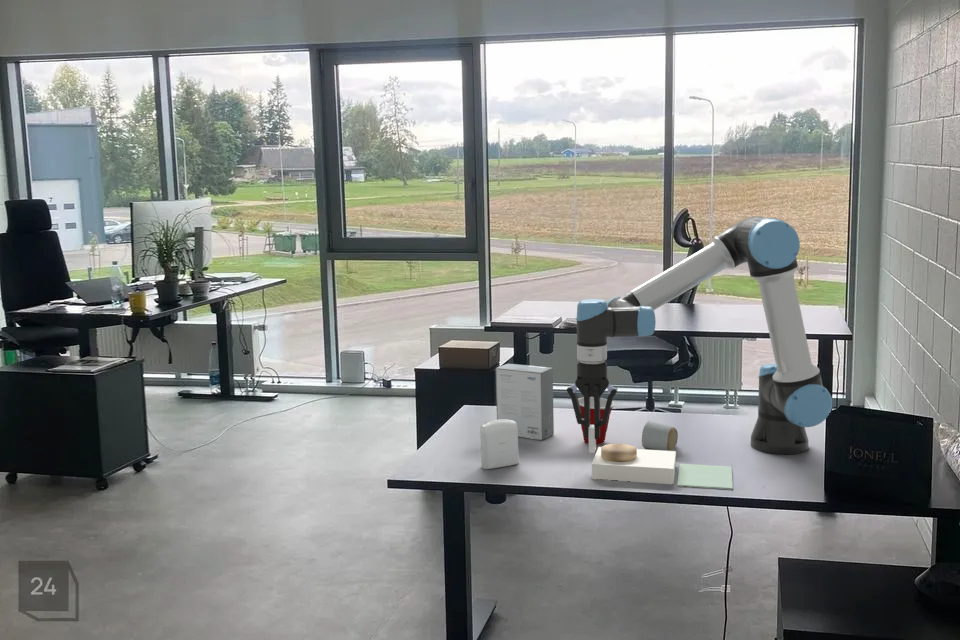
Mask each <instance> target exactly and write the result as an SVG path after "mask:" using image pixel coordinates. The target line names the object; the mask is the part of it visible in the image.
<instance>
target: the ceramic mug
mask: <svg viewBox="0 0 960 640" xmlns="http://www.w3.org/2000/svg"><path fill="white" fill-rule="evenodd" d="M641 433H642V434H641V445H642V448H643V449H645V450H663V451H675V449H676V446H677V444H678V438H679V437H678V435H679V434H678V430H677V428H676V427H674V426H672V425H669V424H664V423H660V422H655V421H652V420H649V421H648V420H647V422H646V423H645V424H644V426H643V429H642V432H641Z"/></svg>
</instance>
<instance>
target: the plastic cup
mask: <svg viewBox="0 0 960 640" xmlns="http://www.w3.org/2000/svg"><path fill="white" fill-rule="evenodd" d="M578 401H579V405H580V409H581V413H582V417H583V419H584V396H583V397H578ZM606 402H607V398H603V397H600V420H601V419H602V418H603V414H604V410H605V406H606ZM614 406H615V402H614V401H612V404H611V408H610V412H609V416H608V420H607V423H606V425H602V426H600V437H599V439H596V444H598V445H602V444H601V443H603V442H604V443H605V441H606V436H607V431H608V426H609V421H610V417H611V413H612V409H613V408H614ZM590 425H594V397H590ZM580 427H581V428H580V429H581V431H582V437H583V441H584V443H585V444H587V445H589V439H586V438H585V437H584V426H583V425H581V424H580ZM604 443H603V444H604Z"/></svg>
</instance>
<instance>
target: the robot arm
mask: <svg viewBox="0 0 960 640" xmlns="http://www.w3.org/2000/svg"><path fill="white" fill-rule="evenodd" d="M800 247H801V243H800V237H799V234H798V233H797V231H796V230H795V227H793V226H792V225H790V224H789V223H788V222H785V221H784V220H782V219H779V218H775V217H764V216H758V215H757V216H751V217H747V218H745V219H741V220H740V221H739V222H737V223H735V224H733V225H732V226H730V227H729V228H727V229H725V230H724V231H722V232H721V233H719V234H718V235H715V236H714V237H712V242H711V243H710V244H708V245H706V246H705V247H703V248H701V249H700V250H697V252H695V253H693V254H691V255H690V256H688V257H687V258H684V259H683V260H680V262H678V263H676V264H674V265H673V266H671V267H669V268H668V269H666V270H664V271H662V272H661V273H659V274H657V275H656V276H654V277H652V278H651V279H649V280H647V281H646V282H644V283H642V284H640V285H639V286H637V287H635V288H634V289H632V290H631V291H628V292H627V293H625V294H623V295H622V296H616V297H612V298H611V299H609V300H608V301H606V300H605V299H599V298H597V299H596V298H588V299H587V298H586V299H582V300H580V301H578V303H577V305H576V318H575V319H576V359H577V363H576V380H575V381H574V384H572V385H569V386H568V387H567V389H566V392H567V394H568V395H569V396H570V399H571V403H572V404H571V405H572V408H573V411H574V414H575V415H574V416H575V419H576V423H577V424H578V425H580V426H581V425H583V426H584V437H585V438H586V439H589V444H588V453H595V452H596V451H597V445H596V439H599V437H600V426H602V425H606V423H607V420H608V416H609V412H610V408H611V404H612V402H613V400H614V397H615V396H616V394H617V392H618V387H616V386H615V387H614V386H613V385H611V384H610V381H609V379H608V362H607V361H606V360H607V358H608V338H624V337H625V338H626V337H630V338H631V337H639V338H642V337H646V336H647V337H648V336H652V335H654V333H655V331H656V313H655V310H657V309H658V308H660V307H662V306H664V305H665V304H667V303H670V302H671V301H672V300H674V299H676V298H678V297H679V296H681V295H683V294H684V293H686V292H688V291H689V290H691V289H693V288H695V287H697V286H698V285H700V284H701V283H703V282H705V281H706V280H708V279H710V278H711V277H713V276H715V275H716V274H718V273H721V272H722V271H723V270H726V269H728V268H729V269H732V270H734V269H735V268H737V267H738V266H740V265H743V264H745V263H747V265H748V271H749V276H750V278H752V279H754V280H756V282H757V284H758V287H759V292H760V293H759V294H760V296H761V302H762V307H763V311H764V314H765V320H766V324H767V325H766V326H767V329H768V334H769V338H770V343H771V348H772V353H773V357H774V361H775V363H767V364H766V363H765V364H763V365H761V366H760V368H759V374H758V399H757V400H758V401H757V402H758V404H757V407H758V408H757V409H758V410H757V412H758V413H757V419H756V422H755V423H754V427H753V430H752V432H751V436H750V446H751V447H753V448H754V449H755V450H758V451H760V452H765V453H769V454H776V455H777V454H778V455H794V454H795V455H796V454H801V453H804V452H807V451H808V450H809V437H808V435H807V430H806V428H812V427H813V428H814V427H816V426H818V425H820V424H822V423H823V422H824V421H825V420H826V419H827V417H829V415H830V414H831V411H832V409H833V398H832V395H831V393H830V392H829V390H828V389H827V388H826V387H825V386H824V385H823V380H822V376H821V371H820V368H819V367H818V366H816V365H815V364H813V363H812V358H811V353H810V350H809V345H808V339H807V334H806V330H805V325H804V320H803V315H802V311H801V305H800V301H799V296H798V295H799V294H798V292H797V286H796V282H795V277H794V274H795V272H796V271H797V270H798V268H799V264H798V258H797V256H798V255H799V253H800V252H799V251H800ZM606 389H607V393H606V394H607V395H608V396H607V398H606V399H607V402H606V406H605V410H604V414H603V418H602V419H601V420H600V398H601V396H602V395H603V394H604V393H605V391H606ZM578 390H579V392H580V393H581V395H582V396H583V397H584V419H583V417H582V413H581V409H580V405H579V401H578V398H579V397H578V394H577V392H578ZM590 397H594V425H590ZM829 413H830V414H829Z"/></svg>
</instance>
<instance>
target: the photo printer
mask: <svg viewBox="0 0 960 640" xmlns="http://www.w3.org/2000/svg"><path fill="white" fill-rule="evenodd" d="M479 431H480V432H479V433H480V434H479V435H480V436H479V437H480V461H481V462H480V463H481V465H480V466H481V468H482V469H483V470H491V469H497V468H503V467H510V466H515V465H518V464H519V437H518V428H517V424H516V422H514V421H513V420H507V419H500V420H497V419H494V420H491V421H488V422H485V423H483V424H482V425H480V429H479Z"/></svg>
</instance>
